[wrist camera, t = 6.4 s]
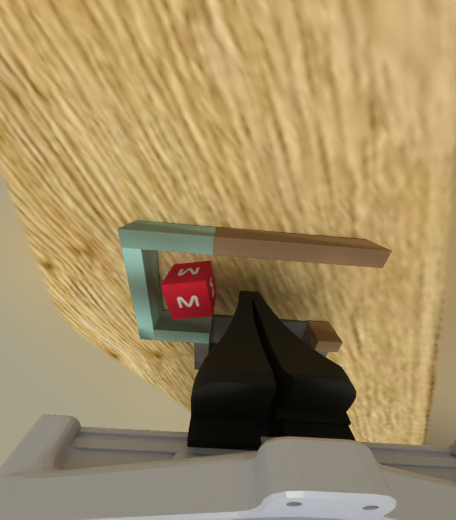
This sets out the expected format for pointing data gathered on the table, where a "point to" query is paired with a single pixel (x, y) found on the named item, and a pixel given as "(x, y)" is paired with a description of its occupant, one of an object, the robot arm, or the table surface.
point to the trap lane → (228, 244)
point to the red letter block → (190, 290)
